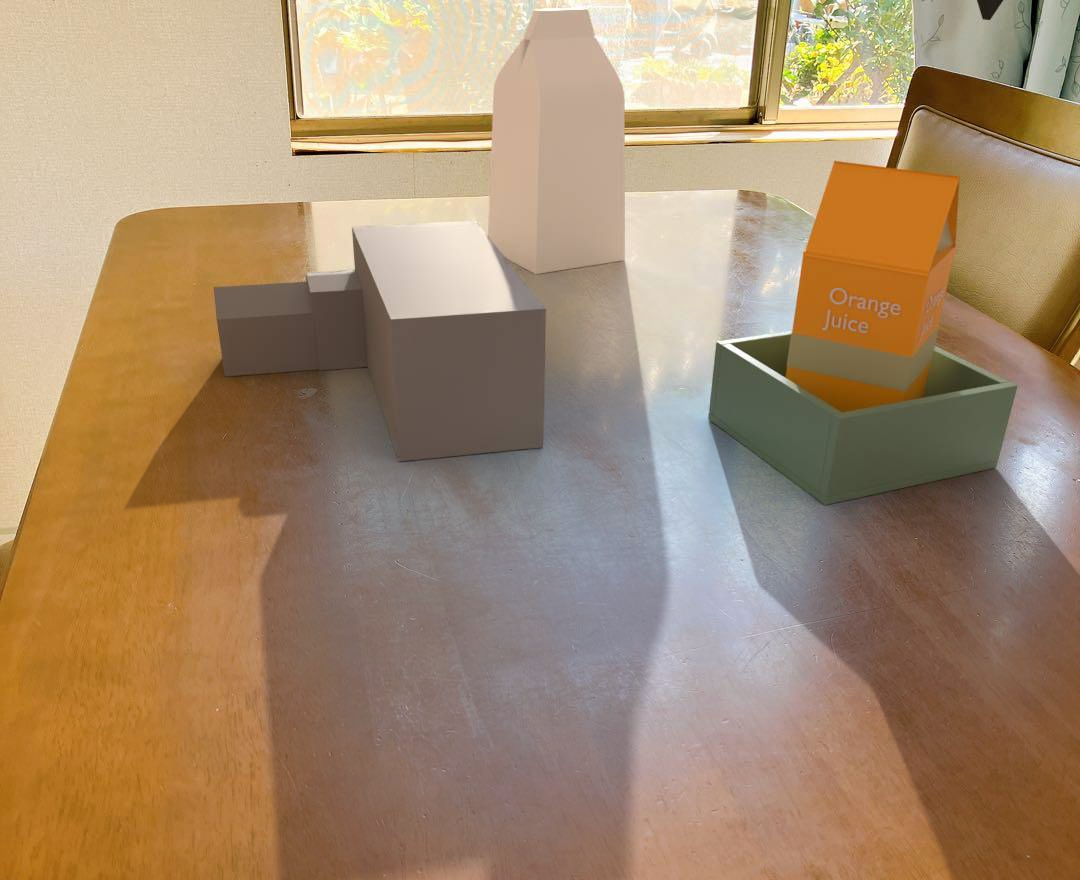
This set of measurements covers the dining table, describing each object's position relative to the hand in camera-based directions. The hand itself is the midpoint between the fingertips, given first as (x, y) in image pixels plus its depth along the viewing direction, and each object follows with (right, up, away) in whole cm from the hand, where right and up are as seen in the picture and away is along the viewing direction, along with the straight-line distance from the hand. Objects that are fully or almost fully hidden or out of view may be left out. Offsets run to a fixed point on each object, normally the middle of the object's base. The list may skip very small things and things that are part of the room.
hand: (1052, 15), depth 95 cm
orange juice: (-21, -38, -11) cm, 45 cm away
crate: (-21, -39, -11) cm, 45 cm away
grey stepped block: (-59, -34, -5) cm, 69 cm away
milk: (-43, -13, +32) cm, 55 cm away
